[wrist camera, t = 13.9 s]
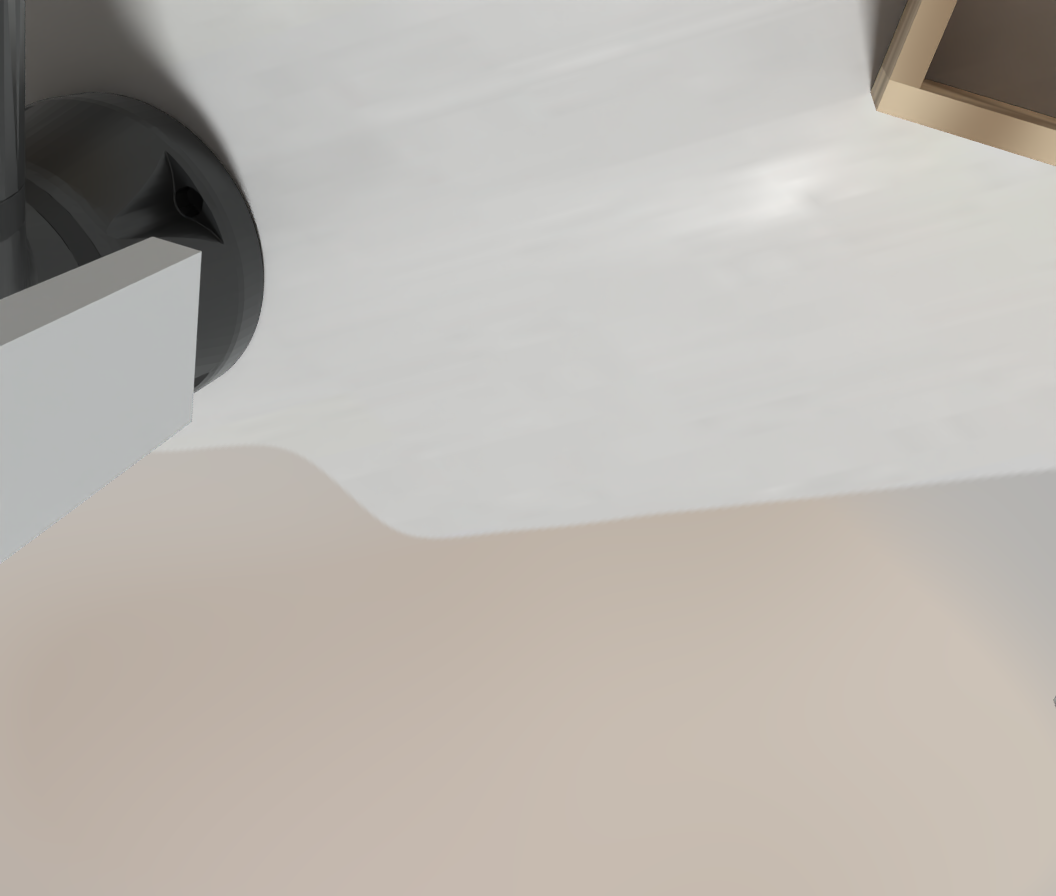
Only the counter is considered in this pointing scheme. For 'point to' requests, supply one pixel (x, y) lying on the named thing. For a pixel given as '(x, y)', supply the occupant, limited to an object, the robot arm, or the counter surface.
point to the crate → (952, 91)
